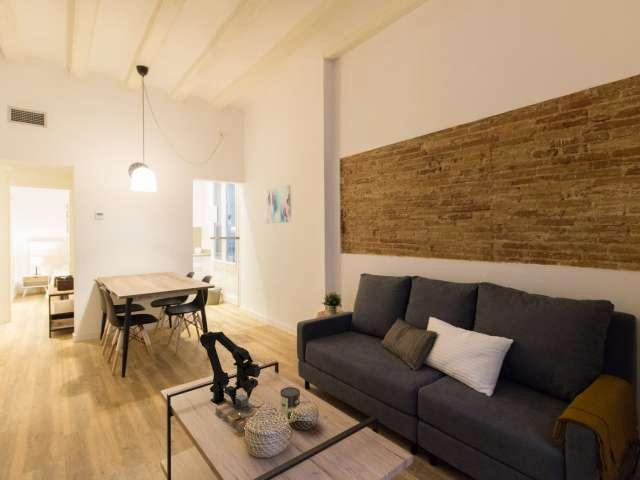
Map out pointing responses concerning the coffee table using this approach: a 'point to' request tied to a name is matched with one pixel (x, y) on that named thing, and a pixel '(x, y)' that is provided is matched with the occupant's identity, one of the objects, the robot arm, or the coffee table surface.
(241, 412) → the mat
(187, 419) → the coffee table surface
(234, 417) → the lever
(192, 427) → the coffee table surface
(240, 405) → the cap block
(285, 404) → the coffee can
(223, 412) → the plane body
